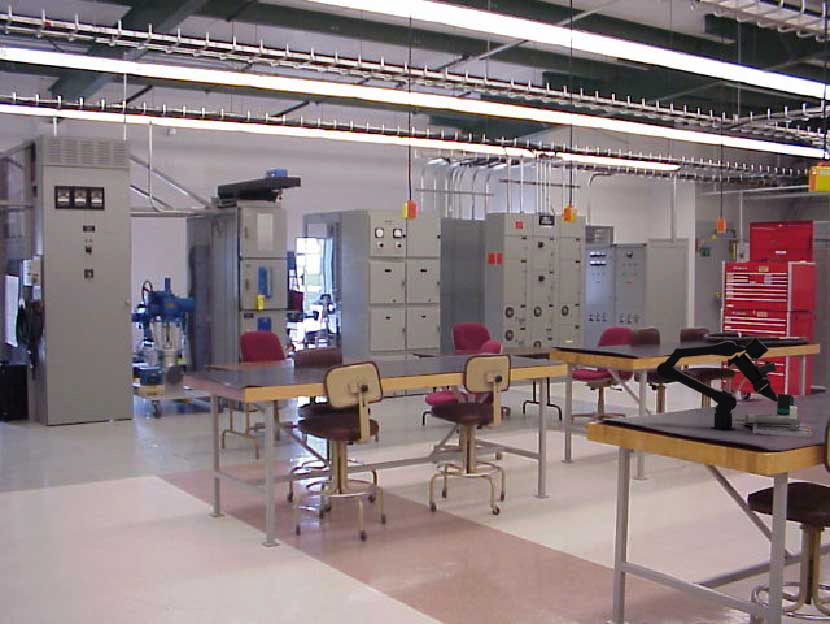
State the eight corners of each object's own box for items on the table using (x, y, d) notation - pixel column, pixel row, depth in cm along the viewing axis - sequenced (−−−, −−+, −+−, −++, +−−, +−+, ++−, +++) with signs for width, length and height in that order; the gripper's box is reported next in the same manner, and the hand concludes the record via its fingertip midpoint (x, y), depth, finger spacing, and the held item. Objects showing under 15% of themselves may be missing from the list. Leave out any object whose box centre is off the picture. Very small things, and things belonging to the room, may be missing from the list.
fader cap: (789, 429, 316) (790, 407, 316) (789, 427, 320) (790, 406, 320) (796, 430, 315) (797, 408, 315) (796, 428, 319) (797, 406, 319)
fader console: (752, 433, 318) (752, 426, 318) (753, 428, 328) (753, 422, 328) (811, 437, 310) (811, 431, 310) (811, 433, 320) (811, 426, 320)
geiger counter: (802, 412, 322) (731, 411, 329) (802, 429, 321) (732, 427, 328) (796, 415, 335) (729, 413, 342) (797, 431, 334) (729, 429, 341)
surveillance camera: (800, 392, 346) (791, 394, 339) (799, 422, 347) (790, 425, 339) (785, 391, 350) (777, 393, 343) (784, 420, 350) (776, 423, 343)
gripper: (764, 355, 313) (795, 388, 309) (764, 352, 330) (793, 383, 327) (740, 375, 316) (770, 408, 313) (741, 370, 333) (769, 401, 330)
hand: (776, 399), depth 320 cm, fingers open, 9 cm apart
